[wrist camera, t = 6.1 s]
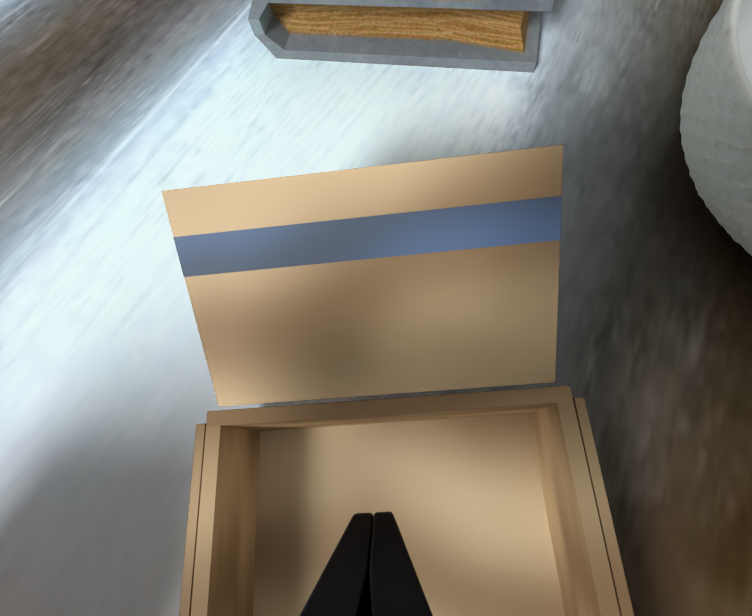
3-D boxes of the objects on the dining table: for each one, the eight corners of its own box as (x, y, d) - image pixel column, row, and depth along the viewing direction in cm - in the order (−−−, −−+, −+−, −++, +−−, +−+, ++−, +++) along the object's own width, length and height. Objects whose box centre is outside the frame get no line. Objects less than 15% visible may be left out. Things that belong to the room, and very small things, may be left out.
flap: (563, 144, 11) (558, 145, 11) (161, 191, 11) (167, 190, 12) (555, 382, 13) (551, 377, 13) (218, 406, 14) (222, 401, 14)
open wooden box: (625, 810, 12) (713, 963, 9) (224, 808, 13) (149, 945, 10) (545, 400, 17) (581, 384, 13) (244, 420, 18) (197, 412, 14)
